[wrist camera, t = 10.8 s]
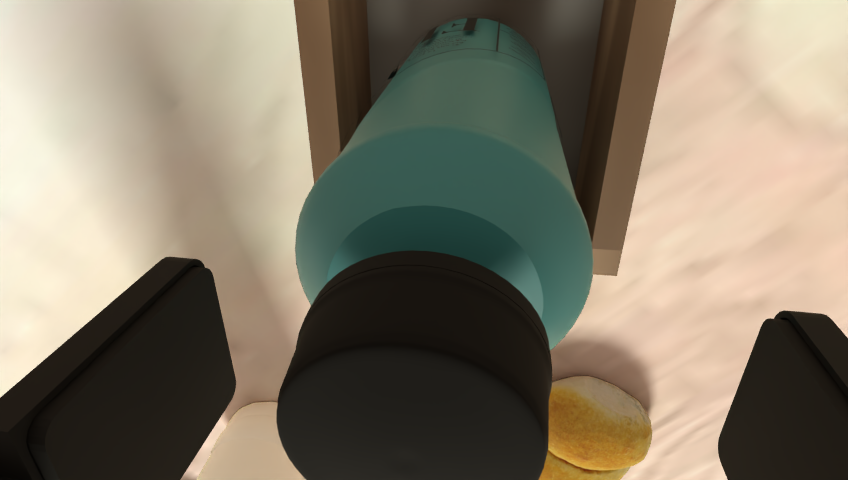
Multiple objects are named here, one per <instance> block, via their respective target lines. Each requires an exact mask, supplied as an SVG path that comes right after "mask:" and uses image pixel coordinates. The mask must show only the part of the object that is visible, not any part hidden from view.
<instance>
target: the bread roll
mask: <svg viewBox="0 0 848 480" xmlns="http://www.w3.org/2000/svg"><path fill="white" fill-rule="evenodd" d="M651 439H652V429H651V422H650V419H649V417H648V415H647V414H646V412H645V410H644V409H643V407H642V405H641V404H640V403H639V401H638V400H637V399H636V398H634V397H632V396H630V395H629V394H627V393H625V392H624V391H622V390H621V389H620V388H618V387H617V386H615V385H613V384H610V383H608V382H606V381H603V380H600V379H597V378H594V377H590V376H574V377H569V378H565V379H561V380H557V381H554V382H552V388H551V393H550V398H549V442H548V452H547V457H546V460H545V464H544V469H543V471H542V473H541V476H540V478H539V480H620V479H621V478H622V477H623V476H624V475H625V474H626V472H627V471H628V470H629V468H630V467H631V466H634V465H635V464H637V463H639V462H641V461H642V460H644V458H645V456H646V454H647V452H648V449H649V447H650V444H651Z"/></svg>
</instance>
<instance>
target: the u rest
mask: <svg viewBox="0 0 848 480" xmlns="http://www.w3.org/2000/svg"><path fill="white" fill-rule="evenodd" d="M675 4H676V0H294V6H295V15H296V24H297V33H298V42H299V51H300V60H301V69H302V78H303V87H304V96H305V105H306V114H307V123H308V132H309V141H310V150H311V159H312V168H313V177H314V184H315V183H316V181H317V180H318V178H319V177H320V176H321V174H322V173H323V172H324V171H325V169H326V168H327V167H328V166H329V165H330V164H331V163H332V162H333V161H334V160H335V159H336V158H337V156H339V155H340V154H341V152H342V151H343V150H344V148H345V147H346V145H347V144H348V143H349V141H350V139H351V138H352V136H353V134H354V132H355V131H356V126H357V127H358V126H359V124H360V123H361V122H362V120H363V119H364V117H365V116H366V114H367V113H368V112H369V110H370V109H371V108H372V106H373V105H374V103H375V102H376V101H377V99H378V98H379V97H380V95H381V94H382V92H383V91H384V90H385V88H386V87H387V86H388V84H389V83H390V82H391V80H392V79H393V78H391V79H388V78H389V77H388V75H390V74H391V72H392V71H393V69H396V68H399V66H400V68H401V67H402V65H403V64H404V63H403V62H405V60H407V58H408V57H409V55H410V54H411V53H412V52H411V51H413V50H414V49H415V47H416V46H417V45H418V44H419V43H420V42H421V40H422V39H423V38H424V37H425V36H426V35H427V33H428V32H429V29H430V30H431V29H433V28H434V27H436V26H438V25H439V26H441V25H444V24H446V23H448V22H451V21H454V20H458V19H462V18H483V19H489V20H493V21H496V22H499V19H501V20H500V23H501V24H504V25H506V26H508V27H510V28H512V26H513V25H514V26H513V28H514V29H513V28H512V29H513V30H515V28H516V27H517V28H516V32H517V29H518V31H519V33H520V35H521V36H523V35H524V36H523V37H524V38H525V40H526V41H527V42H528V43H529V44H530V45H531V46H532V48H534V49H535V50H534V51H535V52H536V54H537V56H538V58H539V55H540V58H539V60H540V59H541V64H542V67H543V70H544V74H545V78H546V82H547V86H548V90H549V95H550V99H551V98H552V100H551V103H552V102H553V105H552V107H553V106H554V107H553V111H554V109H555V111H554V114H555V113H556V116H557V118H556V116H555V121H556V127H557V131H558V134H559V138H560V142H561V145H562V149H563V153H564V156H565V160H566V164H567V167H568V171H569V175H570V178H571V182H572V185H573V189H574V193H575V196H576V200H577V201H578V203H579V205H580V207H581V210H582V212H583V215H584V217H585V220H586V222H587V226H588V229H589V234H590V238H591V242H592V249H593V260H594V262H593V274H597V275H611V276H617V272H618V268H619V263H620V258H621V254H622V249H623V245H624V240H625V235H626V231H627V226H628V221H629V217H630V212H631V208H632V203H633V198H634V194H635V189H636V184H637V180H638V175H639V171H640V166H641V161H642V157H643V152H644V147H645V143H646V138H647V133H648V129H649V124H650V120H651V115H652V110H653V106H654V101H655V96H656V92H657V87H658V83H659V78H660V73H661V69H662V64H663V59H664V55H665V50H666V45H667V41H668V36H669V32H670V27H671V22H672V18H673V13H674V8H675ZM466 14H480V15H466ZM459 15H461V16H459ZM485 15H487V16H485ZM455 16H456V17H458V18H456V17H455ZM462 16H464V17H462ZM465 16H467V17H465ZM468 16H470V17H468ZM480 16H481V17H480ZM483 16H484V17H483ZM491 16H492V17H491ZM494 17H495V18H494ZM448 18H449V19H448ZM453 18H455V19H453ZM498 18H499V19H498ZM450 19H451V20H450ZM443 20H444V21H445V22H443ZM447 20H448V21H447ZM503 20H504V21H503ZM441 21H442V22H441ZM505 21H506V22H505ZM439 23H440V24H439ZM435 24H436V25H435ZM437 24H438V25H437ZM511 24H512V25H511ZM439 26H438V27H439ZM432 27H433V28H432ZM438 27H437V28H438ZM519 29H520V30H519ZM427 30H428V31H427ZM517 33H518V32H517ZM522 33H523V35H522ZM524 33H525V34H524ZM421 35H423V36H421ZM528 37H529V38H530V39H531V40H532V41H533V42H532V41H531V40H530V39H529V38H528ZM414 42H415V43H414ZM413 44H414V45H413ZM412 45H413V46H412ZM409 48H410V49H409ZM537 49H538V50H537ZM538 51H539V54H538ZM406 52H407V53H406ZM403 56H404V57H405V58H404V57H403ZM402 59H405V60H404V61H402ZM400 60H401V61H400ZM397 64H399V65H397ZM400 64H401V65H400ZM397 66H398V67H397ZM400 68H399V69H400ZM399 69H398V70H397V72H398V71H399ZM387 77H388V78H387ZM389 80H390V81H389ZM384 81H385V82H384ZM388 81H389V82H388ZM387 82H388V83H387ZM381 87H382V88H381ZM380 88H381V89H380ZM379 89H380V90H379ZM373 96H374V97H373ZM372 97H373V98H372ZM359 116H360V117H359ZM358 118H359V120H358ZM557 120H558V122H557ZM357 122H358V124H357ZM558 124H559V125H558ZM351 125H352V126H351ZM559 127H560V129H559ZM560 131H561V133H560ZM347 132H348V133H347ZM346 134H347V135H346ZM561 134H562V136H561ZM343 141H344V142H343ZM342 143H343V144H342ZM341 145H342V146H341ZM339 150H340V151H339ZM338 153H339V154H338Z"/></svg>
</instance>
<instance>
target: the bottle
mask: <svg viewBox="0 0 848 480" xmlns="http://www.w3.org/2000/svg"><path fill="white" fill-rule="evenodd" d="M277 406H278V403H277V402H258V403H252V404H249V405H247V406H245V407H242V408H240V409H239V410H238V411H237V412H236V413H235V414H234V416H233V417H232V418H231V420H230V421H229V423H228V425H227V427H226V428H225V429H224V431H223V432H222V433H221V435H220V436H219V438H218V439H217V441H216V443H215V445H214V447H213V449H212V451H211V455H210V457H209V458H208V460H207V462H206V464H205V465H204V467H203V469H202V471H201V473H200V474H199V476H198V478H197V480H306V479H305V478H304V477H303V476H302V475H301V474H300V473H299V471H298V470H297V469H296V468H295V467H294V465H293V464H292V462H291V461H290V459H289V458H288V456H287V454H286V452H285V450H284V448H283V446H282V443H281V440H280V437H279V434H278V429H277V423H276V414H277Z"/></svg>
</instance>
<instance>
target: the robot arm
mask: <svg viewBox="0 0 848 480" xmlns="http://www.w3.org/2000/svg"><path fill="white" fill-rule="evenodd" d="M235 388H236V379H235V374H234V370H233V365H232V360H231V356H230V351H229V347H228V342H227V338H226V333H225V328H224V324H223V319H222V315H221V310H220V305H219V301H218V296H217V292H216V287H215V283H214V278H213V275H212V272H211V271H210V269H208V268H205V267H204V264H203V263H202V262H201V261H200V260H198V259H188V258H177V257H165V258H164V259H162V260H161V261H159V262H158V263H157V264H156V265H155V266H154V267H152V268H151V269H150V270H149V271H148V272H147V273H145V274H144V275H143V276H142V277H141V278H140V279H138V280H137V281H136V282H135V283H134V284H133V285H131V286H130V287H129V288H128V289H127V290H126V291H124V292H123V293H122V294H121V295H120V296H119V297H117V298H116V299H115V300H114V301H113V302H112V303H110V304H109V305H108V306H107V307H106V308H105V309H103V310H102V311H101V312H100V313H99V314H98V315H96V316H95V317H94V318H93V319H92V320H91V321H89V322H88V323H87V324H86V325H85V326H84V327H82V328H81V329H80V330H79V331H78V332H77V333H75V334H74V335H73V336H72V337H71V338H70V339H68V340H67V341H66V342H65V343H64V344H63V345H61V346H60V347H59V348H58V349H57V350H55V351H54V352H53V353H52V354H51V355H50V356H48V357H47V358H46V359H45V360H44V361H43V362H41V363H40V364H39V365H38V366H37V367H36V368H34V369H33V370H32V371H31V372H30V373H29V374H27V375H26V376H25V377H24V378H23V379H22V380H20V381H19V382H18V383H17V384H16V385H15V386H13V387H12V388H11V389H10V390H9V391H8V392H6V393H5V394H4V395H3V396H2V397H1V398H0V480H180V479H181V478H182V476H183V475H184V473H185V471H186V470H187V468H188V467H189V465H190V464H191V462H192V461H193V459H194V457H195V456H196V454H197V453H198V451H199V450H200V448H201V447H202V445H203V443H204V442H205V440H206V439H207V437H208V436H209V434H210V433H211V431H212V429H213V428H214V426H215V425H216V423H217V422H218V420H219V419H220V417H221V415H222V414H223V412H224V411H225V409H226V408H227V406H228V405H229V403H230V401H231V400H232V398H233V395H234V392H235ZM718 453H719V458H720V461H721V464H722V466H723V469H724V471H725V474H726V476H727V479H728V480H848V338H847V337H846V336H845V335H844V333H843V332H842V331H841V330H840V329H839V328H838V326H837V325H836V324H835V323H834V322H833V321H832V319H830V318H829V317H828V316H827V315H824V314H818V313H806V312H795V311H781V312H779V313H778V314H777V315H776V316H775V318H774V319H766V320H765V321H764V322H763V324H762V326H761V329H760V331H759V334H758V337H757V339H756V342H755V344H754V347H753V350H752V352H751V355H750V358H749V360H748V363H747V365H746V368H745V371H744V373H743V376H742V379H741V381H740V384H739V386H738V389H737V392H736V394H735V397H734V400H733V402H732V405H731V407H730V410H729V413H728V415H727V418H726V421H725V423H724V426H723V428H722V431H721V434H720V437H719V441H718Z"/></svg>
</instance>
